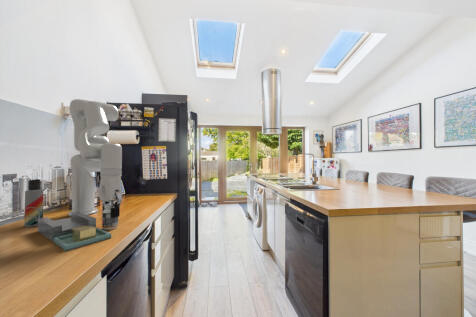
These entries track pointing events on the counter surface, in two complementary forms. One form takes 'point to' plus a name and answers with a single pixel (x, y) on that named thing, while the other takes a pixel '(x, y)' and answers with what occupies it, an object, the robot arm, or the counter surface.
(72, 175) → the robot arm
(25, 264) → the counter surface
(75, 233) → the chip
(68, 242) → the tray
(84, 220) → the slot block
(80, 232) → the chip
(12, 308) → the counter surface
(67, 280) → the counter surface
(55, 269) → the counter surface
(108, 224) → the pill bottle
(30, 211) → the lotion bottle
